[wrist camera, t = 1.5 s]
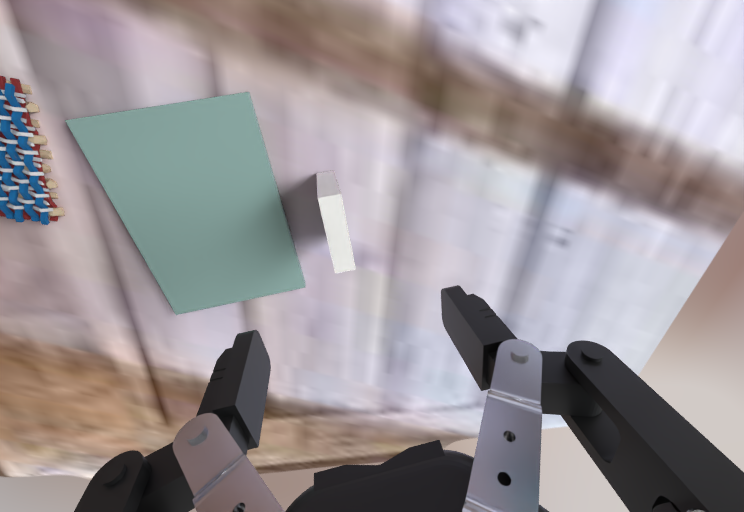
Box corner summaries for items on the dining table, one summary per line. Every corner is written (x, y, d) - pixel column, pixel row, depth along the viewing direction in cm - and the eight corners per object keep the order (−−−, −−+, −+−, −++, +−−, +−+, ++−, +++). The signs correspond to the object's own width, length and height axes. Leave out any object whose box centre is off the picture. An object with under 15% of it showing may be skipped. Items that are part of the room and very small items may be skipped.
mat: (72, 119, 23) (64, 120, 22) (249, 92, 24) (247, 92, 23) (179, 310, 31) (176, 314, 30) (305, 283, 32) (305, 287, 31)
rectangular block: (316, 173, 27) (317, 198, 20) (333, 170, 27) (341, 193, 20) (330, 233, 30) (335, 273, 23) (345, 230, 30) (355, 269, 23)
